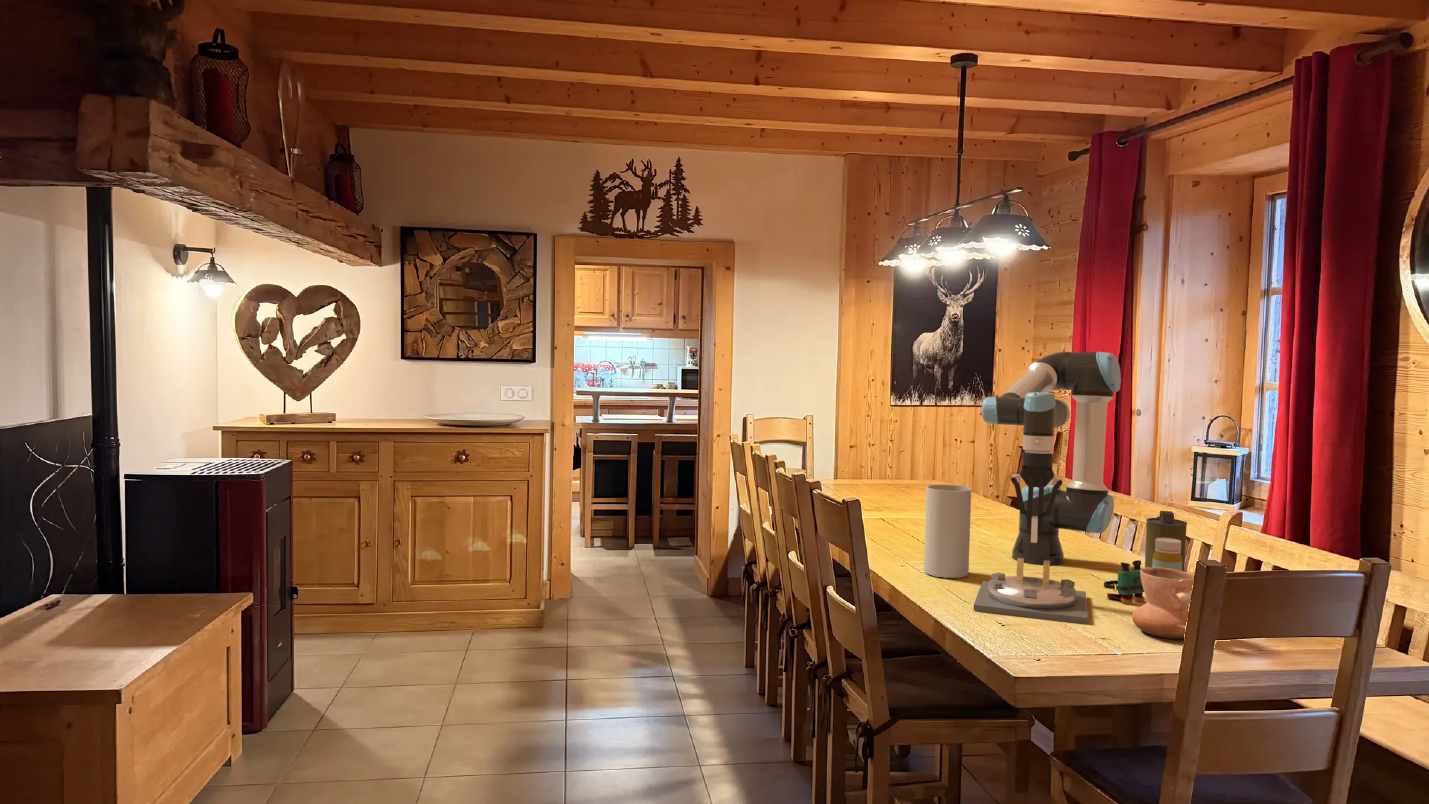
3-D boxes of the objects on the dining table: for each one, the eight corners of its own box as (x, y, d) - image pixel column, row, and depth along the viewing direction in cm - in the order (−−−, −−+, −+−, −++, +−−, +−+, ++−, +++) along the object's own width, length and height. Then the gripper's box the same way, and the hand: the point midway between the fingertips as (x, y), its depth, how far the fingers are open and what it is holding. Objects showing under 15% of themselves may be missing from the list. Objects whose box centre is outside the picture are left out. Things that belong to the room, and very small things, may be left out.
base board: (982, 586, 246) (982, 578, 246) (1085, 597, 236) (1085, 589, 236) (973, 610, 222) (973, 602, 221) (1087, 624, 212) (1087, 615, 212)
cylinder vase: (960, 581, 250) (963, 492, 249) (917, 575, 257) (920, 488, 256) (973, 572, 261) (976, 487, 260) (931, 566, 268) (934, 483, 266)
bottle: (1178, 593, 242) (1180, 538, 241) (1182, 600, 235) (1185, 543, 234) (1149, 591, 244) (1152, 536, 243) (1153, 597, 237) (1155, 541, 236)
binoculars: (1117, 556, 241) (1150, 560, 233) (1119, 596, 241) (1152, 602, 232) (1094, 559, 237) (1127, 564, 228) (1096, 600, 237) (1129, 605, 228)
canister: (1189, 587, 248) (1192, 515, 247) (1148, 585, 251) (1152, 513, 249) (1177, 578, 259) (1180, 509, 258) (1138, 575, 261) (1141, 507, 260)
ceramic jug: (1217, 647, 197) (1220, 582, 196) (1148, 643, 198) (1151, 579, 197) (1180, 624, 215) (1183, 565, 214) (1118, 621, 216) (1121, 562, 215)
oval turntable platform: (991, 583, 242) (992, 554, 242) (1075, 592, 235) (1076, 562, 234) (985, 603, 223) (986, 571, 222) (1076, 614, 215) (1077, 581, 215)
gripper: (1010, 451, 233) (1006, 541, 234) (1064, 454, 228) (1060, 546, 229) (1012, 449, 240) (1008, 536, 241) (1064, 452, 235) (1060, 541, 236)
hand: (1033, 541), depth 235 cm, fingers closed
